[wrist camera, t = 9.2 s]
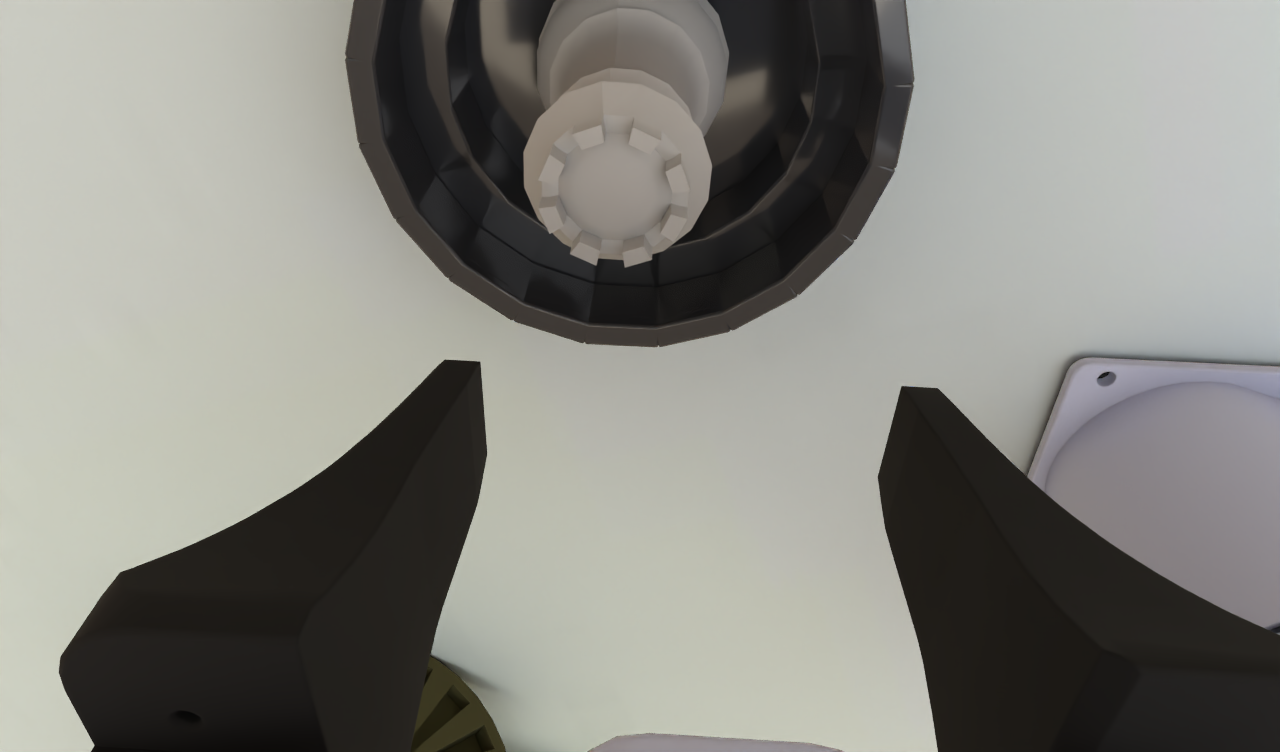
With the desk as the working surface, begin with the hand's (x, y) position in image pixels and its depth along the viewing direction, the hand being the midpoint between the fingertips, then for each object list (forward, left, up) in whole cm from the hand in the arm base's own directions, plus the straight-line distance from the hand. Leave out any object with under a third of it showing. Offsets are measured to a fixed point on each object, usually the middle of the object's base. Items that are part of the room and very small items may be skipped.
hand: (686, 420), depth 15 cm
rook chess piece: (+1, -3, -10) cm, 10 cm away
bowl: (+1, -3, -10) cm, 11 cm away
